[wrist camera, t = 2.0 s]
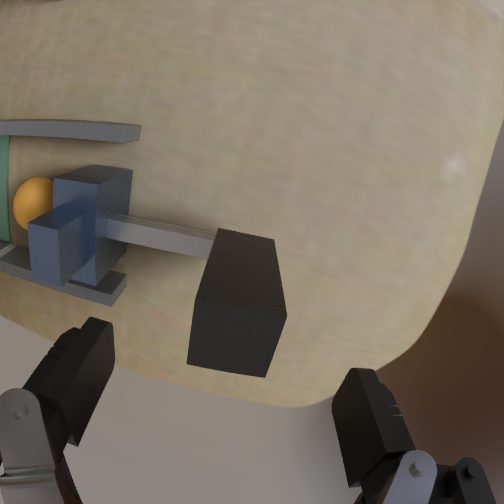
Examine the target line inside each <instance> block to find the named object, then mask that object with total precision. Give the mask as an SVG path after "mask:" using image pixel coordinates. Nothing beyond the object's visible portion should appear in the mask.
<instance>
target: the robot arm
mask: <svg viewBox="0 0 504 504" xmlns="http://www.w3.org/2000/svg"><path fill="white" fill-rule="evenodd" d="M114 363H115V350H114V334H113V325H112V323H111V322H107V321H104V320H100V319H97V318H94V317H89V318H88V319H87V321H86V322H85V323H84V325H83V326H82V327H81V329H78V328H75V327H73V328H71V329H70V330H68V331H66V332H65V333H63V334H61V336H60V337H59V338H58V340H57V341H56V342H55V344H54V346H53V347H51V349H50V350H49V351H48V353H47V355H45V357H44V358H43V360H42V361H41V362H40V364H39V365H38V366H37V368H36V369H35V371H34V372H33V374H32V375H31V376H30V378H29V379H28V381H27V382H26V384H25V385H24V386H23V387H22V388H14V389H10V390H7V391H6V392H4V393H3V394H2V395H1V396H0V466H1V463H2V461H3V465H4V474H3V475H1V476H0V488H1V492H2V496H3V500H4V504H83V503H82V501H81V498H80V496H79V494H78V491H77V489H76V486H75V484H74V481H73V479H72V476H71V473H70V470H69V468H68V465H67V462H66V459H65V456H64V453H63V450H64V448H65V446H66V444H67V443H70V444H72V445H74V446H77V447H78V445H79V443H80V441H81V438H82V436H83V434H84V431H85V429H86V427H87V425H88V423H89V420H90V418H91V416H92V413H93V411H94V409H95V407H96V405H97V403H98V401H99V399H100V397H101V394H102V392H103V390H104V388H105V386H106V384H107V382H108V380H109V378H110V376H111V374H112V371H113V368H114ZM332 414H333V419H334V422H335V427H336V431H337V436H338V440H339V444H340V449H341V454H342V458H343V463H344V467H345V472H346V477H347V481H348V486H349V488H350V487H360V486H361V487H362V492H361V493H360V494H359V496H358V497H357V499H356V501H355V502H354V504H496V502H495V499H494V496H493V493H492V491H491V488H490V485H489V483H488V480H487V477H486V475H485V473H484V470H483V468H482V466H481V464H480V463H479V462H478V461H477V460H475V459H473V458H470V457H464V458H462V459H460V460H459V461H458V462H457V463H456V464H455V465H454V466H448V465H439V464H435V462H434V460H433V459H432V457H431V456H429V455H428V454H427V453H425V452H422V451H418V450H416V448H415V446H414V444H413V441H412V439H411V436H410V434H409V431H408V429H407V426H406V424H405V422H404V419H403V417H402V416H401V413H400V410H399V408H398V407H397V403H396V401H395V399H394V396H393V394H392V393H391V392H390V390H389V389H388V388H387V387H386V386H385V385H384V384H381V383H380V382H379V380H378V377H377V375H376V373H375V371H374V370H373V369H366V368H351V369H350V370H349V372H348V373H347V375H346V377H345V379H344V380H343V382H342V384H341V386H340V387H339V389H338V391H337V392H336V394H335V396H334V398H333V402H332Z"/></svg>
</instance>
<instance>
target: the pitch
mask: <svg viewBox="0 0 504 504" xmlns="http://www.w3.org/2000/svg"><path fill="white" fill-rule="evenodd" d="M140 130H141V125H135V124H125V123H114V122H101V121H86V120H63V119H9V120H0V239H1V240H0V270H1V271H3V272H6V273H9V274H11V275H14V276H17V277H20V278H22V279H25V280H28V281H31V282H34V283H37V284H39V285H42V286H45V287H48V288H51V289H54V290H57V291H61V292H64V293H67V294H70V295H73V296H77V297H80V298H83V299H87V300H90V301H93V302H97V303H100V304H104V305H107V306H111V307H112V305H113V304H114V303H115V301H116V300H117V298H118V297H119V295H120V294H121V293H122V291H123V290H124V288H125V287H126V274H121V273H117V272H113V271H109V272H108V273H107V274H106V275H105V276H104V278H103V279H102V280H101V281H100V282H99V283H98V284H97V286H93V285H90V284H86V283H83V282H79V281H76V280H72V279H69V280H68V281H67V282H66V283H65V284H64V285H63V286H62V287H59V286H56V285H53V284H50V283H47V282H44V281H41V280H38V279H35V278H33V277H32V269H31V261H30V252H29V249H28V248H25V247H21V246H18V245H15V244H11V243H8V242H10V241H11V239H10V228H9V212H8V155H9V140H10V135H20V136H46V137H63V138H77V139H88V140H99V141H109V142H118V143H122V142H128V141H135V140H139V136H140ZM2 240H4V241H2ZM5 241H7V242H5Z"/></svg>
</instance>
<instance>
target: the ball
mask: <svg viewBox="0 0 504 504" xmlns="http://www.w3.org/2000/svg"><path fill="white" fill-rule="evenodd" d="M52 209H53V181H52V180H50V179H48V178H46V177H41V176H37V177H32V178H30V179H28V180H26V181H25V182H24V183H22V185H21V186H20V187H19V188H18V190H17V192H16V194H15V197H14V201H13V211H14V215H15V218H16V220H17V222H18V223H19V224H20V225H21V226H22V227H23V228H24V229H26V230H28V226H27V223H28V222H30V221H31V220H33V219H35V218H37V217H39V216H40V215H42V214H44V213H46V212H48V211H50V210H52Z"/></svg>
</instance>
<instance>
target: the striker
mask: <svg viewBox="0 0 504 504" xmlns="http://www.w3.org/2000/svg"><path fill="white" fill-rule="evenodd" d="M132 173H133V170H130V169H123V168H116V167H109V166H102V165H92V166H89V167H85V168H82V169H79V170H76V171H73V172H70V173H67V174H64V175H61V176H58V177H55V178H54V181H53V209H52V210H50V211H48V212H46V213H44V214H42V215H40V216H39V217H37V218H35V219H33V220H31V221H30V222H28V223H27V226H28V240H29V252H30V261H31V269H32V277H33V278H35V279H38V280H41V281H44V282H47V283H50V284H53V285H56V286H59V287H62V286H63V285H64V284H65V283H66V282H67V281H68V280H69V279H72V280H76V281H79V282H83V283H86V284H90V285H93V286H97V284H98V283H99V282H100V281H101V280H102V279H103V278H104V276H105V275H106V274H107V273H108V272H109V271H110V270H111V268H112V267H113V266H114V265H115V264H116V263H117V262H118V261H119V260H120V258H121V257H122V256H123V255H124V254H125V253H126V242H128V243H133V244H137V245H142V246H147V247H151V248H156V249H161V250H165V251H170V252H175V253H180V254H184V255H189V256H194V257H199V258H204V259H208V261H207V264H206V267H205V270H204V273H203V276H202V279H201V282H200V285H199V289H198V292H197V295H196V298H195V304H194V311H193V318H192V326H191V333H190V341H189V348H188V356H187V364H189V365H193V366H198V367H203V368H208V369H214V370H219V371H225V372H230V373H236V374H243V375H249V376H256V377H263V378H265V376H266V374H267V371H268V368H269V366H270V363H271V360H272V358H273V355H274V352H275V349H276V347H277V344H278V341H279V338H280V335H281V333H282V330H283V327H284V324H285V321H286V318H287V312H286V306H285V300H284V294H283V288H282V282H281V276H280V271H279V265H278V259H277V253H276V248H275V242H274V239H269V238H264V237H260V236H255V235H250V234H245V233H240V232H236V231H231V230H226V229H221V228H218V230H217V233H213V232H208V231H204V230H199V229H194V228H189V227H184V226H179V225H174V224H169V223H164V222H159V221H154V220H149V219H143V218H138V217H133V216H128V211H129V200H130V191H131V182H132Z"/></svg>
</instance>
